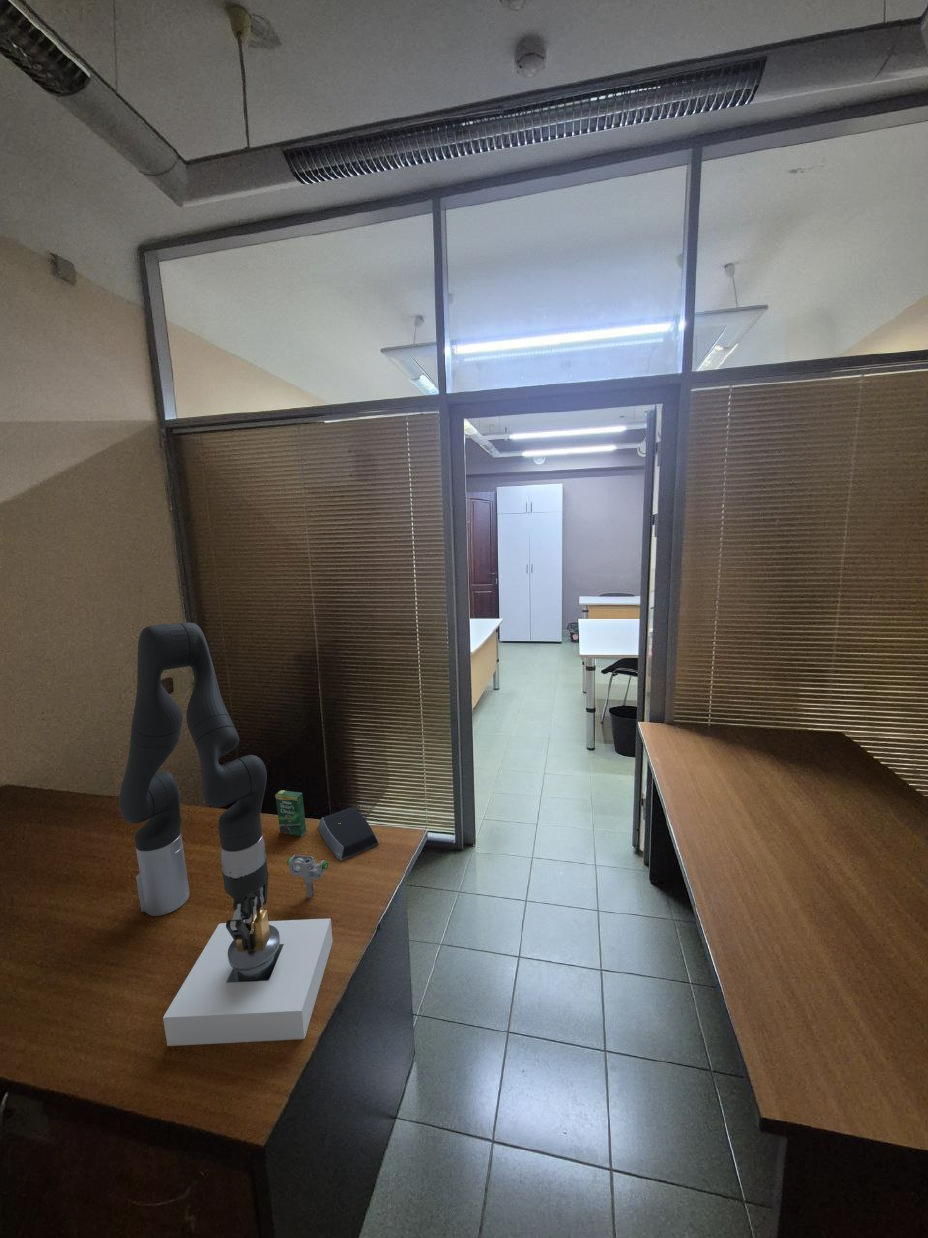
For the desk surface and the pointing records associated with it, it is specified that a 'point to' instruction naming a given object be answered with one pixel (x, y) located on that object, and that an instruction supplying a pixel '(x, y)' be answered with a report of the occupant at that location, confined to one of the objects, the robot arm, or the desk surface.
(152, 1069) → the desk surface
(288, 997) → the housing
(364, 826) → the external hard drive
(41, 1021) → the desk surface
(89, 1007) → the desk surface
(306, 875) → the mechanical component
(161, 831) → the robot arm
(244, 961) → the end cap
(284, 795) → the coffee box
